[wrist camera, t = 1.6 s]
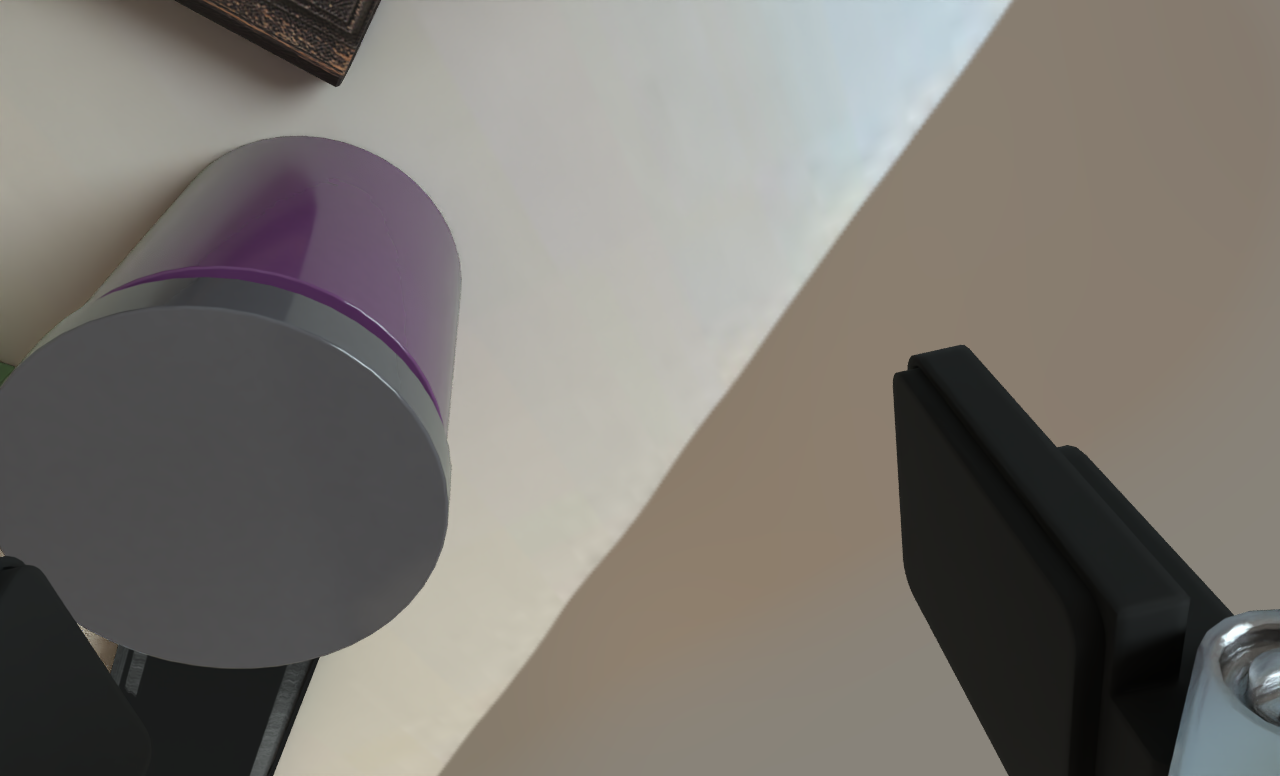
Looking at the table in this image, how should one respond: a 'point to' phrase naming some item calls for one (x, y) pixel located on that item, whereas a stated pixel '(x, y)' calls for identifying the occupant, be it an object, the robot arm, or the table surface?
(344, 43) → the hardcover book
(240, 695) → the phone
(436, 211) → the jar
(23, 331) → the table surface
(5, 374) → the green block
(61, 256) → the table surface
